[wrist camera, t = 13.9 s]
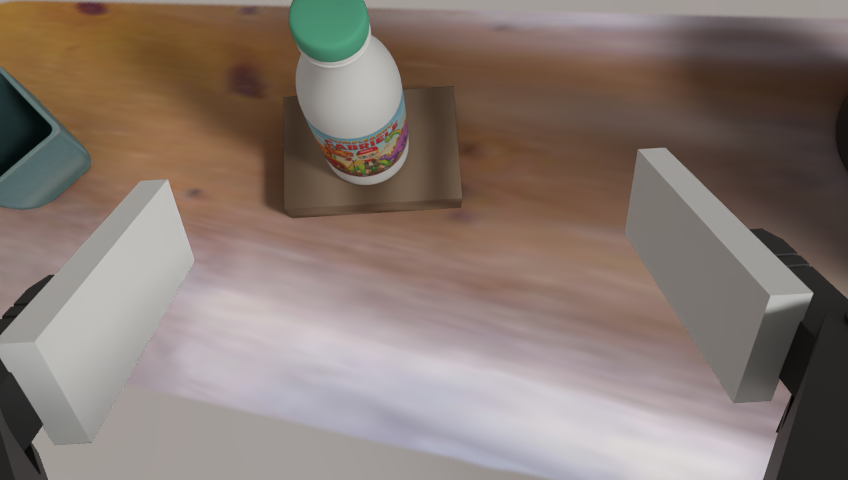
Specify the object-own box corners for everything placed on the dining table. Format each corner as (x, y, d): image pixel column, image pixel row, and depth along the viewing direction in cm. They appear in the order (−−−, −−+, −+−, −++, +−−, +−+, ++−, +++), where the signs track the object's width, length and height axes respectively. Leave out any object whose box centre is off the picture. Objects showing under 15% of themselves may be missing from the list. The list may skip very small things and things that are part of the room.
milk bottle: (310, 133, 52) (236, -9, 32) (383, 94, 53) (353, -67, 33) (350, 202, 50) (297, 97, 31) (424, 161, 51) (419, 32, 31)
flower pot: (120, 167, 55) (61, 128, 46) (49, 230, 53) (-27, 203, 45) (65, 110, 56) (-4, 62, 47) (-6, 171, 55) (-90, 133, 46)
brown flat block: (452, 101, 56) (453, 86, 53) (460, 207, 53) (462, 198, 50) (291, 111, 56) (283, 97, 53) (292, 218, 53) (284, 209, 50)
